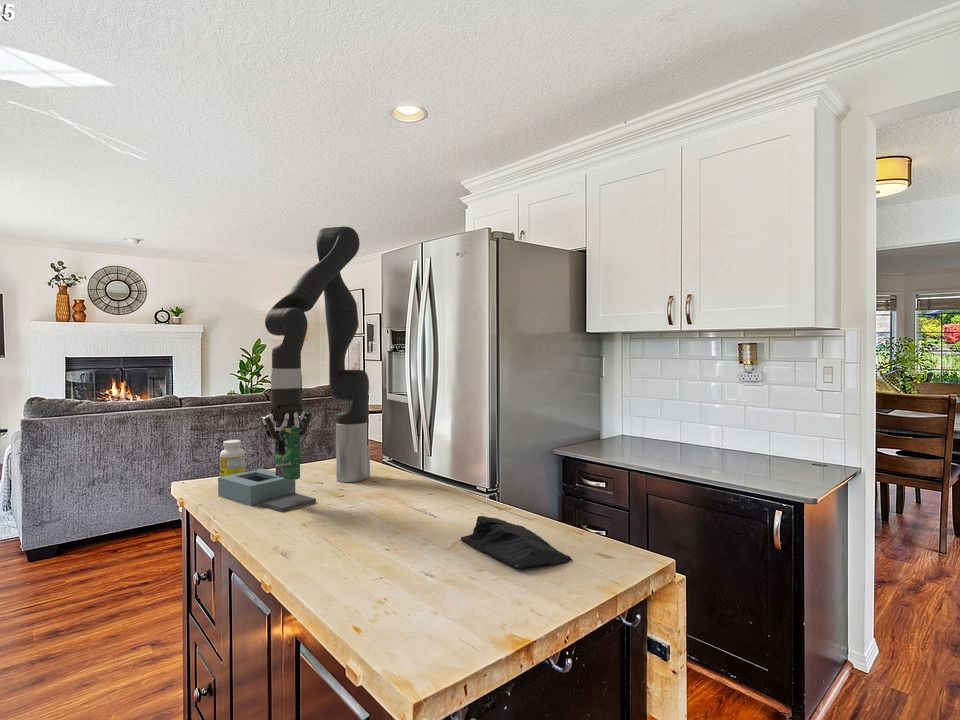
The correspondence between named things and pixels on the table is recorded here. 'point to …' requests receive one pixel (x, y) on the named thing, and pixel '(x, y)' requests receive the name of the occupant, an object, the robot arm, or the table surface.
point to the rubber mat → (286, 502)
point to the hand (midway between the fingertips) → (287, 453)
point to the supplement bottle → (232, 458)
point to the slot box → (254, 486)
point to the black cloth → (513, 544)
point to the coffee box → (289, 455)
